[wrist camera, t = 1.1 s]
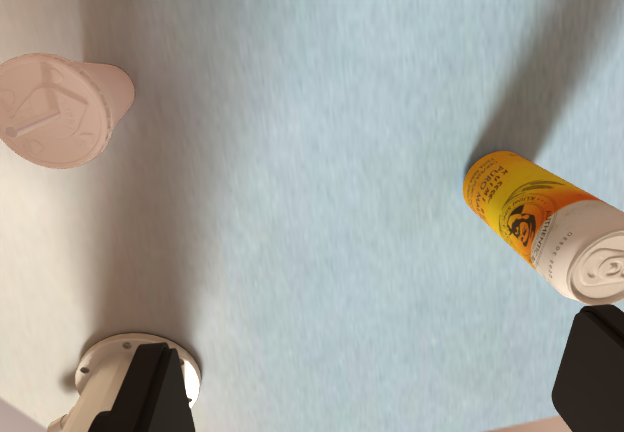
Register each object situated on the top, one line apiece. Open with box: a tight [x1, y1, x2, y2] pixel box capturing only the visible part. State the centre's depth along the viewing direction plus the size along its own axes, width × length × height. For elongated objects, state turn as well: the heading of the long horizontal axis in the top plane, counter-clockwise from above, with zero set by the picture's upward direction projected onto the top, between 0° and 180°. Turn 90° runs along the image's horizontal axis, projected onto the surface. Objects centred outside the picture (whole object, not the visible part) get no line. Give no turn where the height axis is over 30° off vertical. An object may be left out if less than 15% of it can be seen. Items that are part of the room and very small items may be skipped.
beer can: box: [463, 151, 624, 305], centre depth 31 cm, size 6×6×15 cm
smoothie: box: [0, 53, 135, 169], centre depth 25 cm, size 6×6×14 cm
